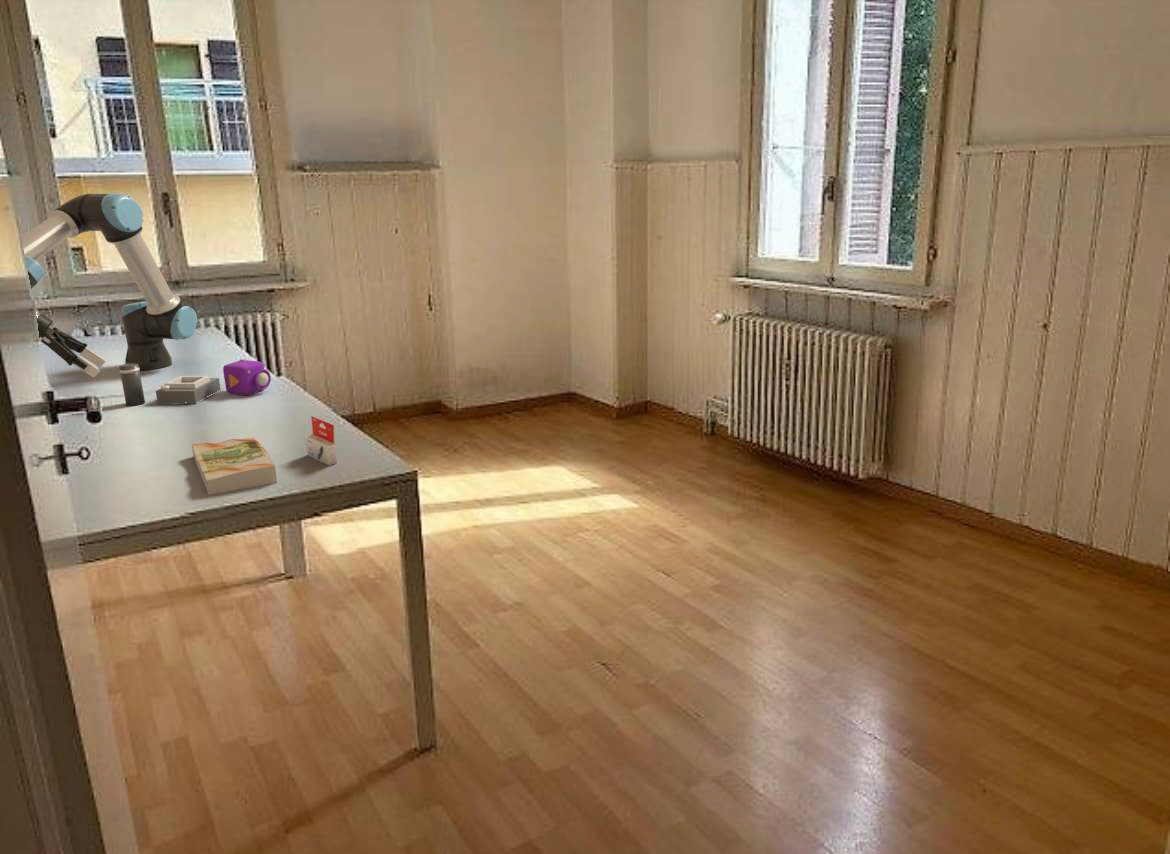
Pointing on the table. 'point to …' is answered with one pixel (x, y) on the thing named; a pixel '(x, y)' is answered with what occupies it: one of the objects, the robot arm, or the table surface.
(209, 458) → the topographic model
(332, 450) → the ink cartridge box
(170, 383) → the block
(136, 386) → the dark grey cylinder
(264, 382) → the toy camera
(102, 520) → the table surface
